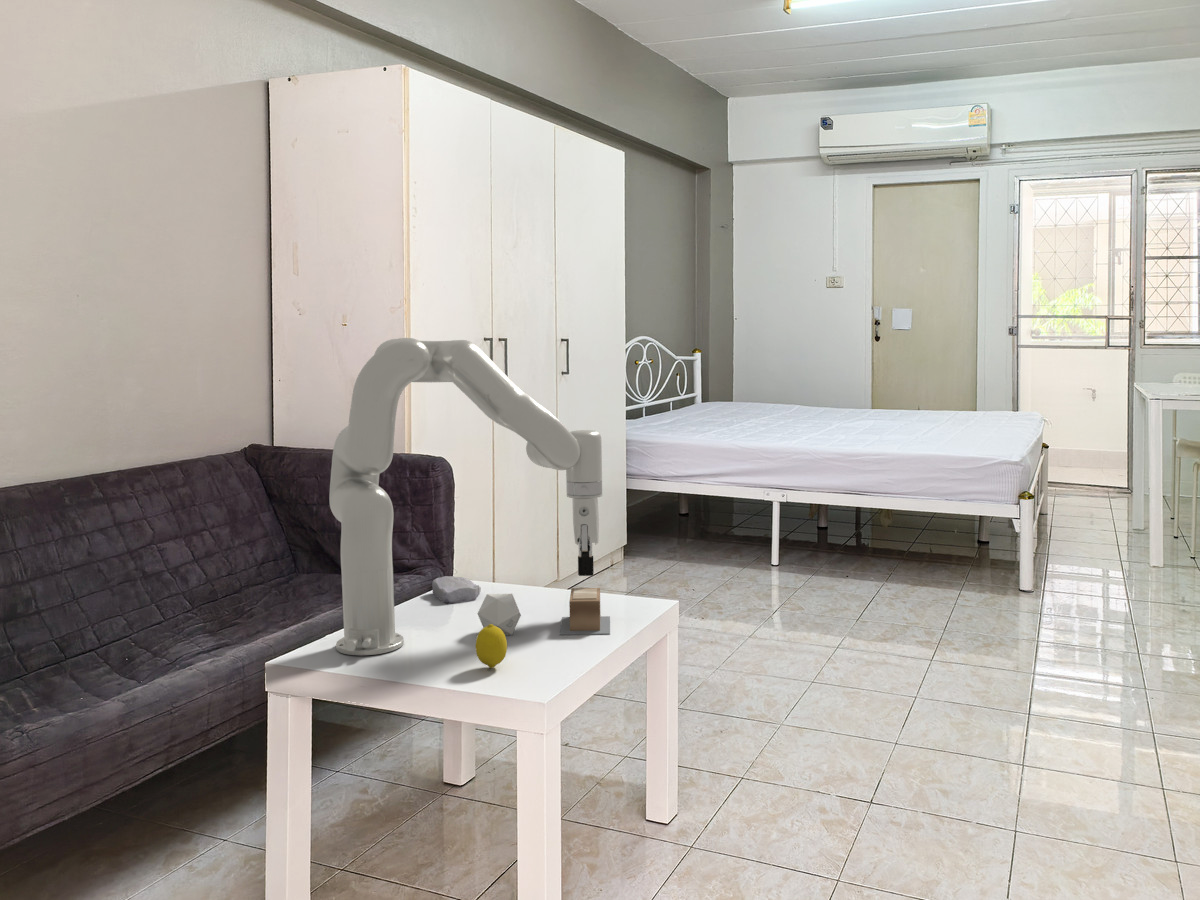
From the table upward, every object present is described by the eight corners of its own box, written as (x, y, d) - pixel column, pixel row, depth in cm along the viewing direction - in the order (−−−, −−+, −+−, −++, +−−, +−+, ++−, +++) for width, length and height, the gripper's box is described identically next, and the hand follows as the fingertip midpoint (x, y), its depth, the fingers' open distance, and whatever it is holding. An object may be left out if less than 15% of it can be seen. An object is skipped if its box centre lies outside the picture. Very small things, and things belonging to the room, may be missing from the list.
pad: (610, 634, 192) (610, 633, 192) (559, 635, 192) (559, 634, 192) (610, 617, 204) (610, 616, 204) (562, 617, 204) (562, 616, 204)
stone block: (468, 596, 232) (427, 593, 228) (471, 576, 232) (431, 573, 227) (484, 609, 222) (442, 606, 217) (488, 589, 221) (446, 585, 217)
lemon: (508, 663, 175) (507, 619, 174) (506, 673, 170) (505, 628, 169) (477, 663, 175) (476, 620, 174) (474, 673, 169) (473, 629, 169)
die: (503, 645, 188) (529, 602, 190) (465, 622, 189) (491, 579, 191) (506, 648, 196) (531, 606, 198) (470, 626, 197) (495, 585, 199)
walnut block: (600, 615, 205) (600, 630, 194) (572, 616, 205) (569, 630, 194) (600, 586, 204) (599, 600, 193) (571, 587, 204) (569, 600, 193)
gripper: (601, 494, 197) (603, 583, 199) (602, 484, 212) (604, 567, 214) (564, 494, 197) (566, 583, 199) (568, 484, 212) (570, 567, 214)
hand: (585, 574), depth 206 cm, fingers closed
